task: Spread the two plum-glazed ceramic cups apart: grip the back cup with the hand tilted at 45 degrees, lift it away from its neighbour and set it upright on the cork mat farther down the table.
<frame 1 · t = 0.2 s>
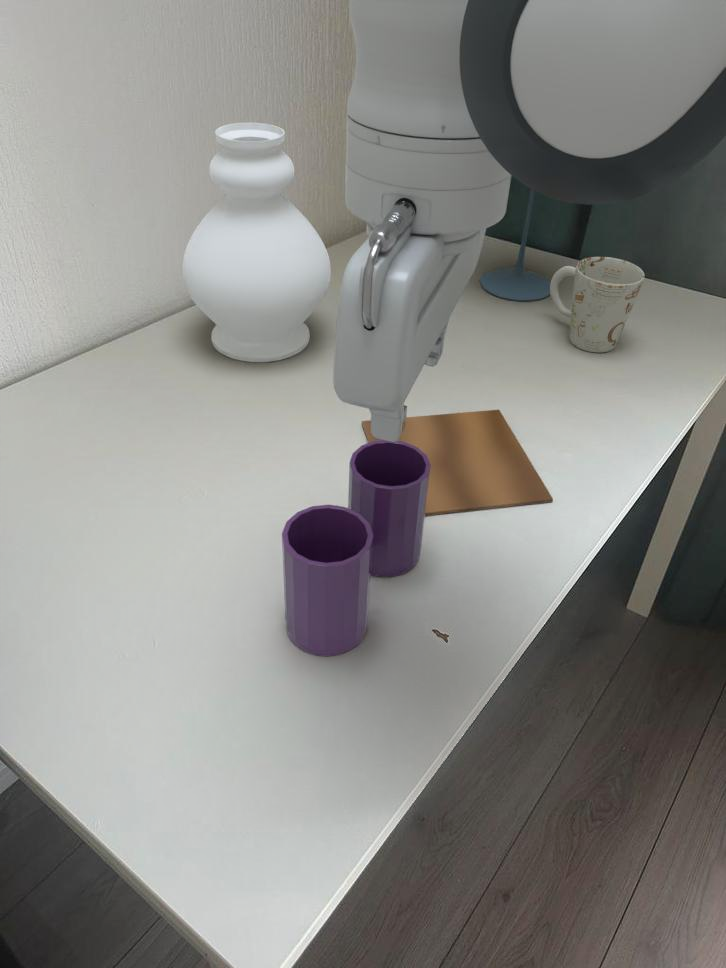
hand: (408, 394, 50), 22 cm above the table, tool pointing down, fingers open, 8 cm apart
mug: (578, 337, 103), on the table
cocktail glass: (516, 286, 115), on the table
decorative vase: (261, 339, 100), on the table
cup b: (326, 623, 63), on the table
mat: (451, 460, 81), on the table
cup a: (383, 550, 70), on the table
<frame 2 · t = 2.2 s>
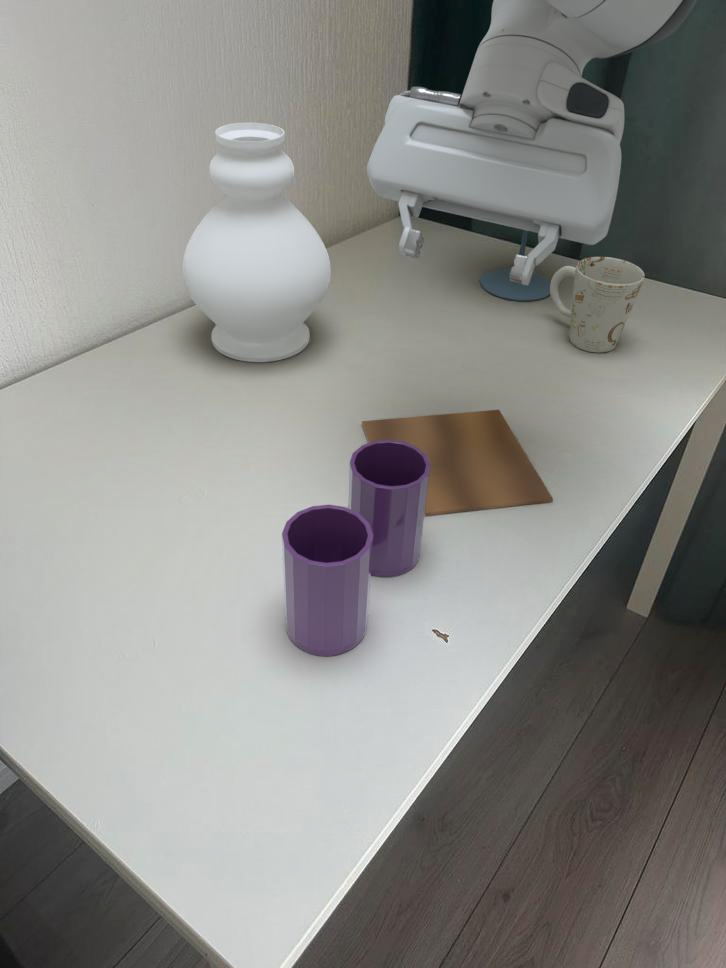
hand: (462, 267, 62), 23 cm above the table, tool tilted 40°, fingers open, 8 cm apart
nothing on the table moved.
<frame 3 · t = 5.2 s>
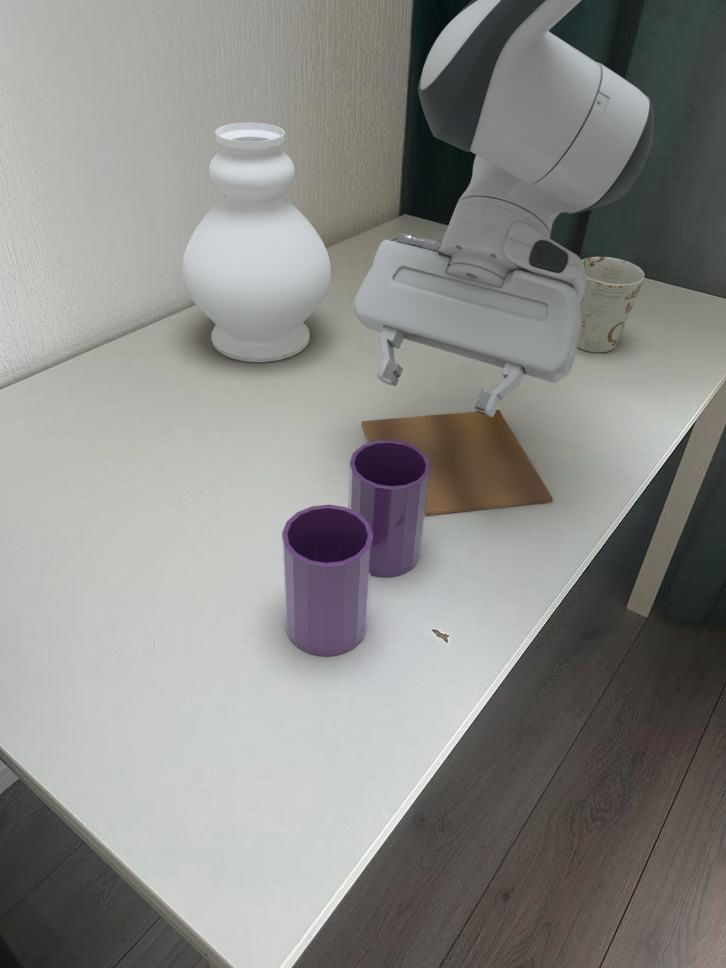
hand: (433, 397, 68), 12 cm above the table, tool tilted 45°, fingers open, 8 cm apart
nothing on the table moved.
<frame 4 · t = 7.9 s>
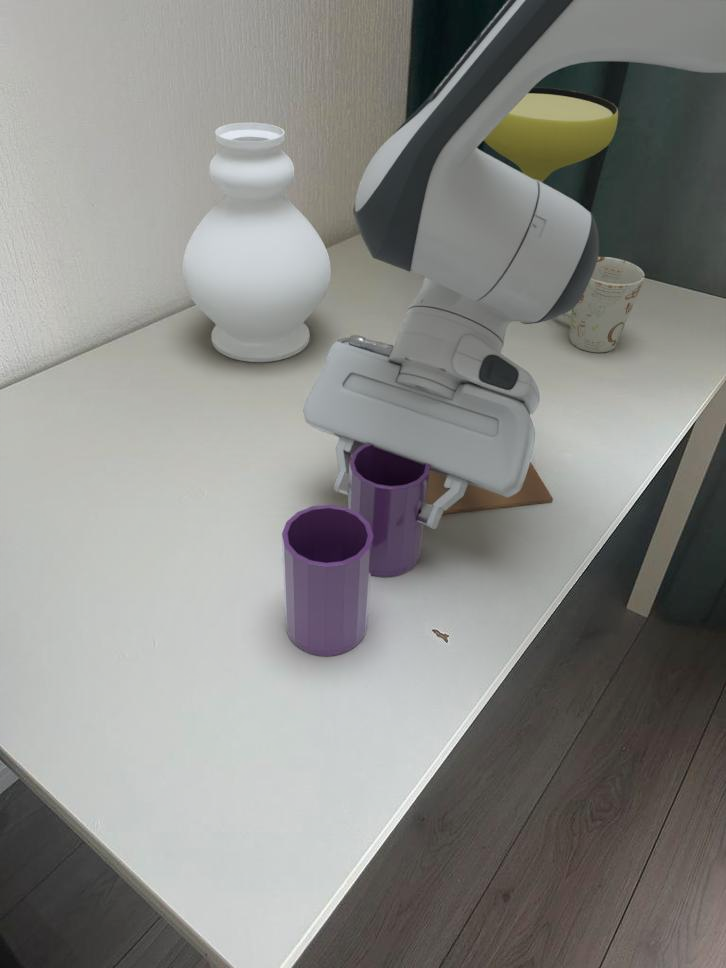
hand: (384, 509, 66), 5 cm above the table, tool tilted 45°, fingers closed on cup a, 6 cm apart
cup a: (383, 550, 70), on the table, touching gripper
everything else where it was.
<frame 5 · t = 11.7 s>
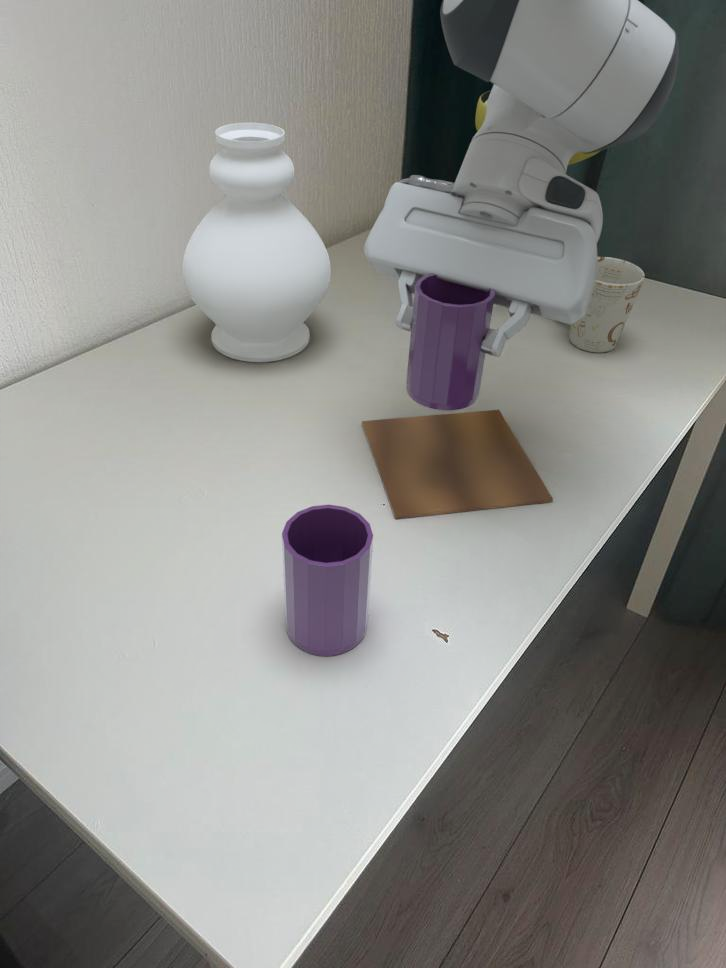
hand: (446, 340, 67), 17 cm above the table, tool tilted 45°, fingers closed on cup a, 6 cm apart
cup a: (442, 390, 70), point 11 cm above the table, touching gripper
everything else where it was.
when the fingers open (6 cm above the table, at t = 15.8 s): cup a stays where it is, resting on mat.
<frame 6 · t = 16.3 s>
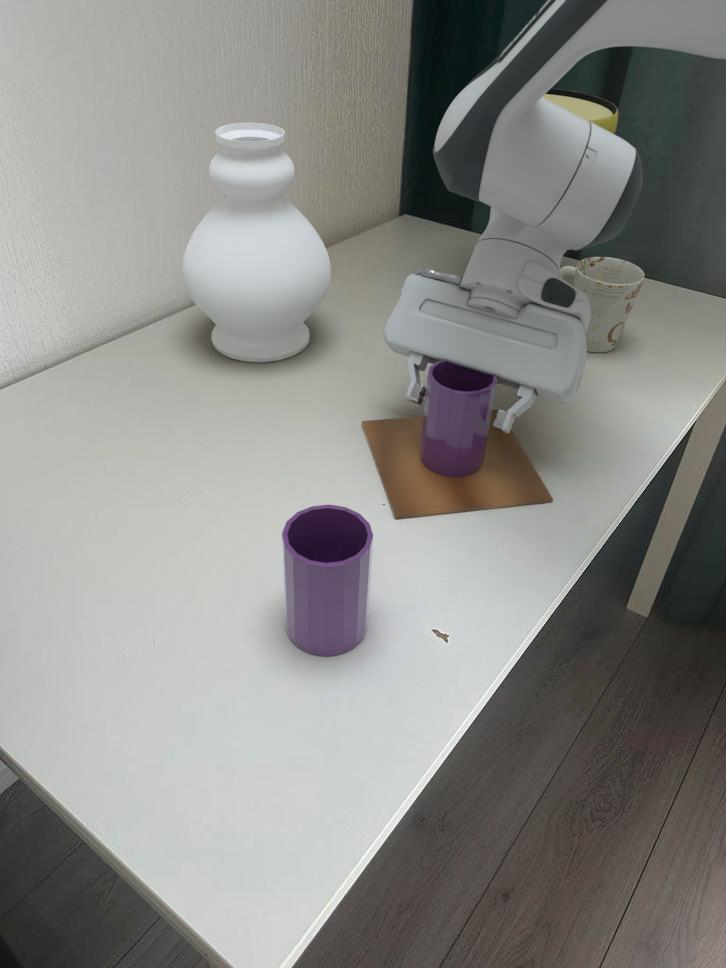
hand: (455, 415, 77), 6 cm above the table, tool tilted 45°, fingers open, 8 cm apart
cup a: (451, 457, 81), resting on mat
everything else where it was.
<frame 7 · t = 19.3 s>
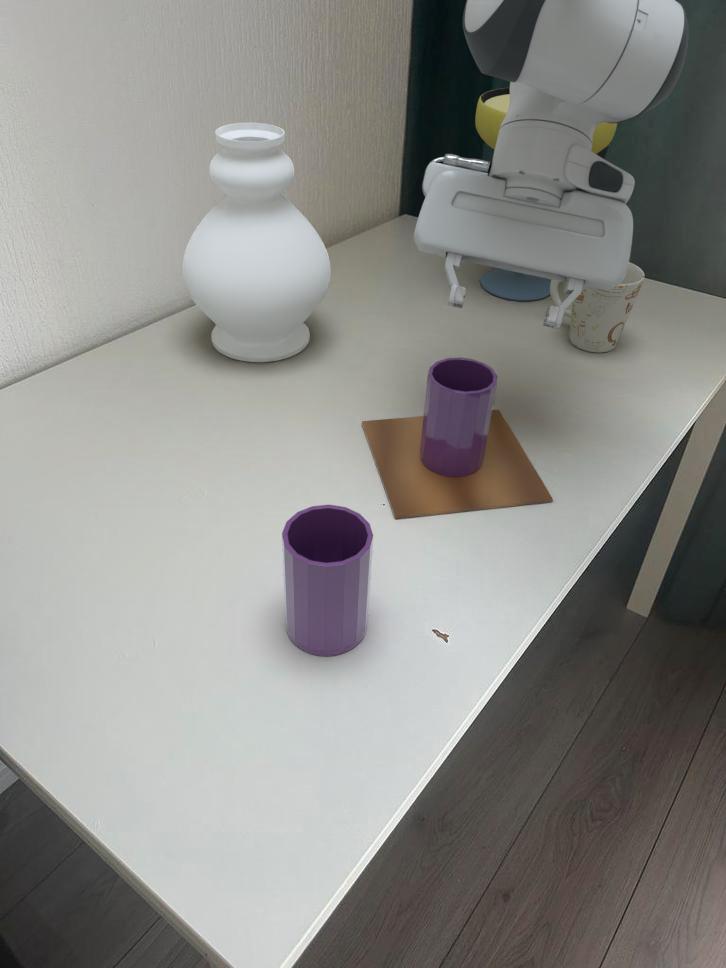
hand: (503, 316, 74), 15 cm above the table, tool tilted 35°, fingers open, 8 cm apart
nothing on the table moved.
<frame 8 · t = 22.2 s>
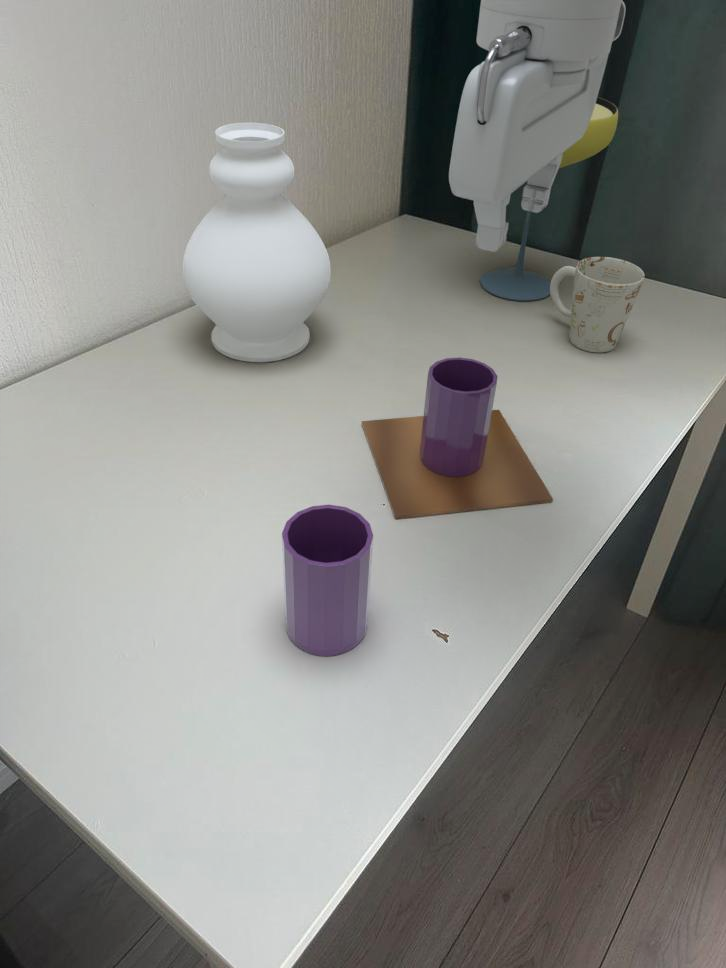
hand: (513, 227, 59), 27 cm above the table, tool pointing down, fingers open, 8 cm apart
nothing on the table moved.
at the end: cup a 0.1 cm off-centre on the mat, point 0.4 cm above the mat's base; cup a tilted 0°; cup b moved 0.0 cm from its start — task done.
